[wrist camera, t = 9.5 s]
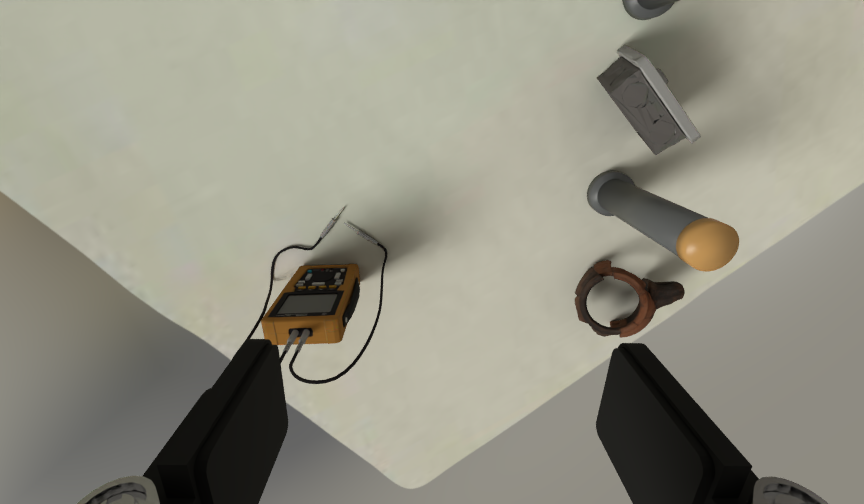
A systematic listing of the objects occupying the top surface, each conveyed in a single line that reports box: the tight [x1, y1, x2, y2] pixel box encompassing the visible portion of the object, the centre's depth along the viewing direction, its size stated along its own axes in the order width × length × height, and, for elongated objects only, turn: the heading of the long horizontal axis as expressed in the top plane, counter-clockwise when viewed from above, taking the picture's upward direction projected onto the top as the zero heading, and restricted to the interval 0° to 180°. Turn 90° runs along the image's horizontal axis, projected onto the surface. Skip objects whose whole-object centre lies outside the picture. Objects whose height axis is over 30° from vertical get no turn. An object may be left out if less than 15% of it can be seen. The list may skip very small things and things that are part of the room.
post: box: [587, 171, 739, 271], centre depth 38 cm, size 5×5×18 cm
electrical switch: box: [597, 45, 701, 155], centre depth 39 cm, size 9×5×9 cm, turn 44°
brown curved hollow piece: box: [575, 260, 684, 337], centre depth 49 cm, size 12×10×8 cm
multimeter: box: [233, 207, 387, 384], centre depth 39 cm, size 15×10×20 cm
